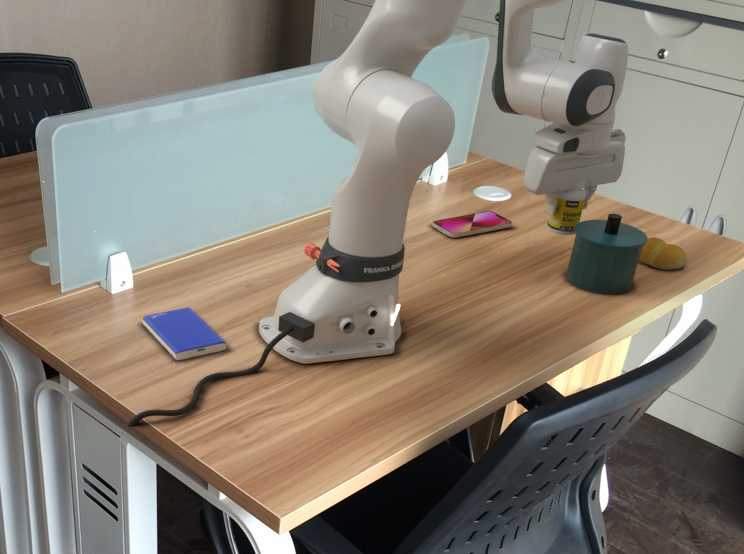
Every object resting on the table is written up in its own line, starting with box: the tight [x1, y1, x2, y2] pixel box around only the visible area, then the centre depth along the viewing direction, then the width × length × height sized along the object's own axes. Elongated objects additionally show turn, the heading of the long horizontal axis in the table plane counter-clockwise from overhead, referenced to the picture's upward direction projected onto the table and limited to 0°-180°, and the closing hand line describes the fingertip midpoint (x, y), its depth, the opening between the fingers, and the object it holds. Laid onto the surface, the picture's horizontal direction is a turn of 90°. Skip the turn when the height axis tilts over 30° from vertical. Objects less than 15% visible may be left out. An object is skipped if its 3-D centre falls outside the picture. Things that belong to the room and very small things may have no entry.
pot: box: [565, 234, 643, 295], centre depth 165 cm, size 11×11×8 cm
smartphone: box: [431, 210, 513, 238], centre depth 187 cm, size 7×1×15 cm
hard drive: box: [142, 307, 227, 361], centre depth 144 cm, size 2×8×12 cm
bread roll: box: [638, 236, 687, 271], centre depth 175 cm, size 8×9×4 cm
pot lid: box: [574, 213, 648, 249], centre depth 162 cm, size 12×12×4 cm
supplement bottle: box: [546, 180, 586, 236], centre depth 170 cm, size 5×5×10 cm
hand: (565, 211), depth 171 cm, fingers closed on supplement bottle, 5 cm apart
